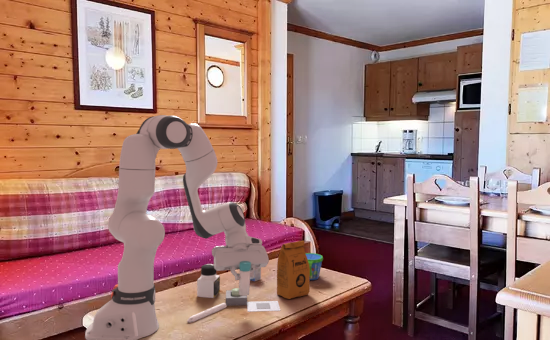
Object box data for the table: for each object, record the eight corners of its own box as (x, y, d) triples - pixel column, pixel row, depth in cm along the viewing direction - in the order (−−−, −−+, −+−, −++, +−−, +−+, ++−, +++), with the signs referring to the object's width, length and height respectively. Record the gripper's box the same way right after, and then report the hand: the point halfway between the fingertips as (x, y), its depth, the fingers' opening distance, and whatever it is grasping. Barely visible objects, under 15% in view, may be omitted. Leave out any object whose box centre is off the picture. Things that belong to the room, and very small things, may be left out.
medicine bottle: (214, 298, 165) (214, 268, 164) (196, 297, 166) (196, 267, 165) (220, 292, 172) (220, 263, 171) (203, 290, 173) (203, 262, 172)
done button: (231, 299, 160) (231, 291, 160) (231, 295, 164) (231, 288, 164) (241, 298, 161) (241, 291, 160) (240, 295, 164) (240, 288, 164)
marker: (189, 325, 142) (189, 318, 142) (185, 323, 143) (185, 316, 143) (226, 308, 156) (226, 302, 156) (222, 307, 158) (222, 301, 157)
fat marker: (238, 296, 148) (239, 264, 147) (238, 291, 152) (239, 260, 151) (249, 296, 149) (251, 264, 148) (249, 291, 153) (250, 261, 152)
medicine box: (241, 278, 189) (241, 259, 189) (247, 275, 193) (247, 257, 192) (255, 281, 185) (255, 262, 184) (261, 279, 188) (261, 260, 188)
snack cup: (318, 285, 182) (319, 262, 181) (295, 282, 185) (295, 259, 184) (325, 274, 197) (325, 252, 196) (303, 271, 200) (303, 250, 199)
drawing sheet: (247, 311, 153) (247, 311, 153) (246, 302, 162) (246, 301, 162) (280, 311, 154) (280, 310, 154) (277, 301, 163) (277, 300, 163)
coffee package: (312, 296, 169) (314, 242, 167) (287, 302, 162) (288, 246, 160) (298, 288, 177) (299, 237, 175) (273, 294, 171) (274, 240, 169)
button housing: (225, 305, 158) (225, 298, 158) (226, 297, 166) (226, 290, 166) (247, 305, 159) (247, 297, 159) (246, 297, 167) (246, 289, 166)
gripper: (212, 242, 152) (218, 276, 144) (265, 239, 160) (273, 272, 151) (209, 251, 157) (214, 285, 148) (261, 248, 164) (268, 280, 156)
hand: (244, 278), depth 150 cm, fingers closed on fat marker, 4 cm apart
